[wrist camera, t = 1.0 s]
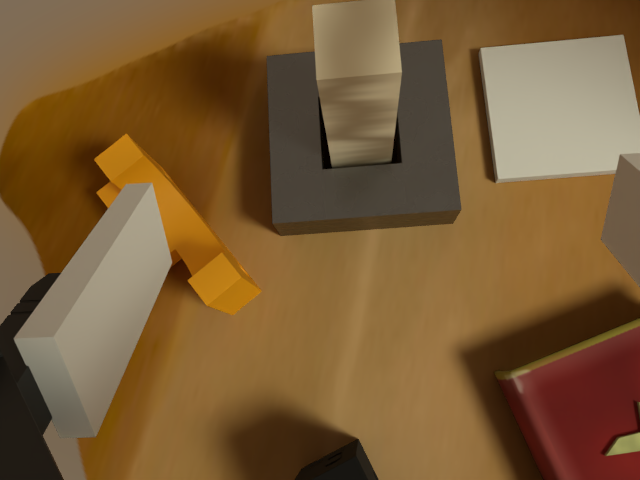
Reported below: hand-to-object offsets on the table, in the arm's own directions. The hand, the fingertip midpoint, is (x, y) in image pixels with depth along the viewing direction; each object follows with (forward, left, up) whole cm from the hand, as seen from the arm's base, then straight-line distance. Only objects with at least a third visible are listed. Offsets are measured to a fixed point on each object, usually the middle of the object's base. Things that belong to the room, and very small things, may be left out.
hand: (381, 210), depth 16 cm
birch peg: (+3, -10, -22) cm, 25 cm away
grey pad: (-10, -16, -22) cm, 29 cm away
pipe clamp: (+14, 0, -23) cm, 26 cm away
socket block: (+3, -10, -22) cm, 25 cm away
